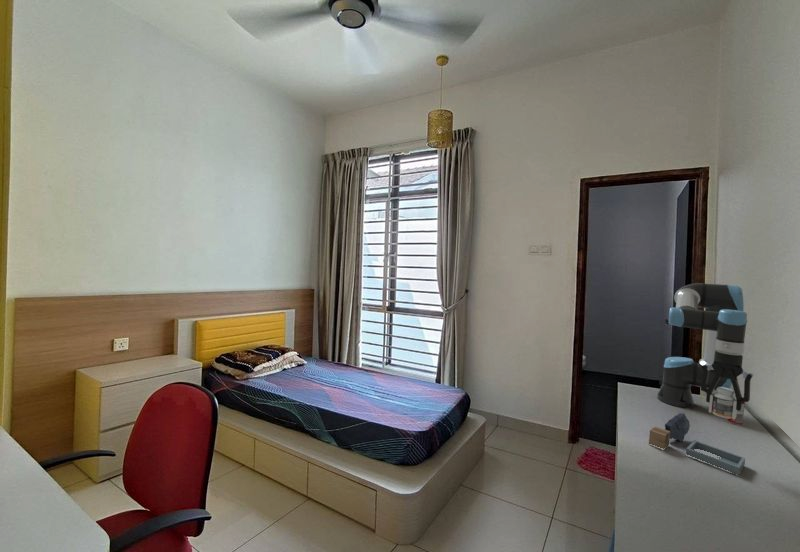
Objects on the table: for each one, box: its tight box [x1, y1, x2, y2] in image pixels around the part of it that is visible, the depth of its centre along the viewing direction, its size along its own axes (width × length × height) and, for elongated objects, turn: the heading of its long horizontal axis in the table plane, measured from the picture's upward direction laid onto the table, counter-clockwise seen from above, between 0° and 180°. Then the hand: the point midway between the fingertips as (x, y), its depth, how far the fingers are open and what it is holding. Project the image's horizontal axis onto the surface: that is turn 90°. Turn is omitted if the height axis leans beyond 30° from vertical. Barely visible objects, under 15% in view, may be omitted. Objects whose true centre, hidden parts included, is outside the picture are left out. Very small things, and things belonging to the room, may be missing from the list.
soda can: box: [725, 395, 746, 426], centre depth 165 cm, size 6×6×12 cm
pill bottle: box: [712, 387, 735, 419], centre depth 131 cm, size 6×6×10 cm
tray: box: [685, 440, 746, 476], centre depth 132 cm, size 11×15×3 cm
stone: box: [664, 412, 691, 443], centre depth 147 cm, size 14×6×10 cm, turn 129°
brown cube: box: [648, 425, 670, 449], centre depth 141 cm, size 6×5×6 cm
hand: (722, 414), depth 131 cm, fingers closed on pill bottle, 6 cm apart
